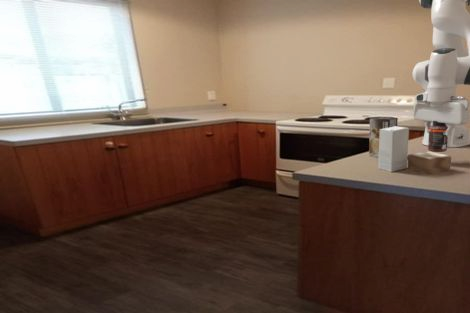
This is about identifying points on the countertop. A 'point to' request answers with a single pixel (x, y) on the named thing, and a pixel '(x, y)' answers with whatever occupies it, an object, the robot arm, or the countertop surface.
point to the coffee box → (378, 132)
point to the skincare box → (393, 148)
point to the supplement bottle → (437, 137)
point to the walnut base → (429, 162)
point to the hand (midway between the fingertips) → (438, 134)
